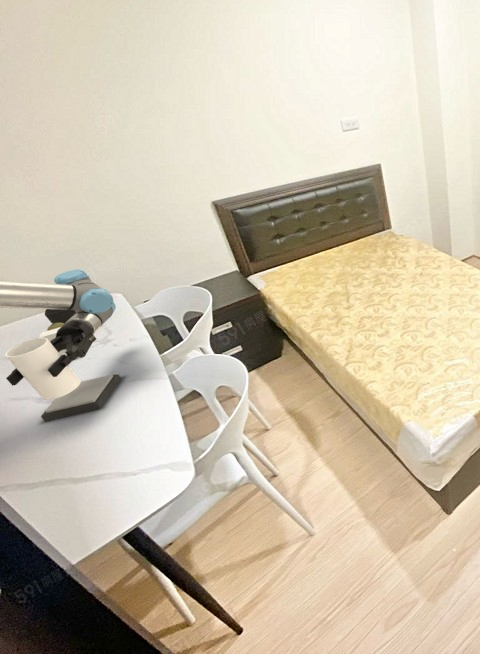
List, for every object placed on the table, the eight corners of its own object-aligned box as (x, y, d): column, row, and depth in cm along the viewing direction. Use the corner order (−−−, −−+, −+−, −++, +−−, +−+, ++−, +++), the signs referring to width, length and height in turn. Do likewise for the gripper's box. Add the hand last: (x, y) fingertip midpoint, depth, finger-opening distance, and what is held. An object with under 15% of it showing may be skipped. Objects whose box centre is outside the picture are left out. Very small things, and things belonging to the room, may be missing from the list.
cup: (41, 404, 111) (2, 361, 103) (43, 389, 116) (7, 346, 108) (80, 389, 115) (46, 346, 107) (81, 375, 121) (49, 333, 113)
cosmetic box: (82, 351, 149) (63, 325, 143) (80, 357, 146) (61, 331, 140) (60, 358, 146) (40, 332, 140) (58, 364, 143) (37, 338, 137)
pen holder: (95, 320, 167) (81, 300, 162) (75, 333, 159) (61, 313, 154) (72, 321, 167) (58, 301, 162) (51, 335, 159) (36, 314, 154)
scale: (44, 422, 120) (38, 414, 118) (71, 390, 131) (65, 383, 130) (101, 409, 123) (95, 401, 122) (122, 378, 135) (117, 371, 133)
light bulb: (62, 351, 149) (46, 330, 144) (57, 346, 152) (41, 326, 147) (81, 342, 154) (66, 321, 149) (75, 338, 156) (60, 318, 151)
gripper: (124, 331, 131) (86, 377, 112) (45, 346, 125) (-9, 397, 107) (112, 313, 127) (71, 357, 108) (30, 327, 122) (-28, 377, 103)
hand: (31, 377), depth 107 cm, fingers closed on cup, 8 cm apart
